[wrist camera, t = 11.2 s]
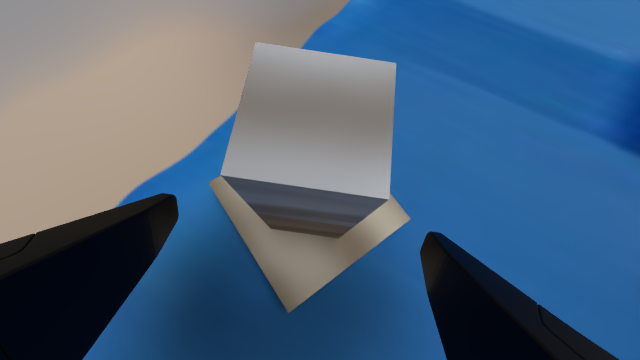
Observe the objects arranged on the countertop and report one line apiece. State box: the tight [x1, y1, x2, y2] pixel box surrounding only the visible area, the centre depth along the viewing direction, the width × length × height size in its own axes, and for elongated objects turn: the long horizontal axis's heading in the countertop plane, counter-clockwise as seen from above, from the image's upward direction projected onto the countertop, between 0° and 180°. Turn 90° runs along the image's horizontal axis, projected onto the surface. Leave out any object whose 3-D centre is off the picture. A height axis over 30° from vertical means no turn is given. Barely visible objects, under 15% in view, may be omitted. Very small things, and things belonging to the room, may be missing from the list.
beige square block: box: [209, 176, 410, 313], centre depth 21 cm, size 11×11×3 cm
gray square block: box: [220, 42, 396, 238], centre depth 14 cm, size 5×5×12 cm
